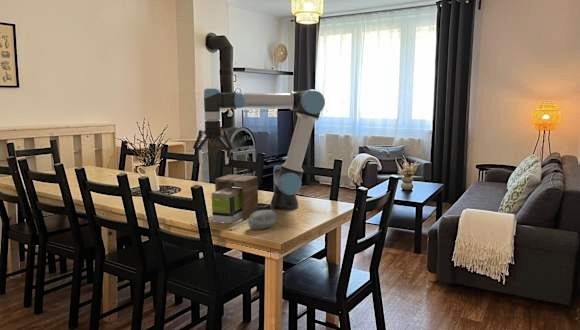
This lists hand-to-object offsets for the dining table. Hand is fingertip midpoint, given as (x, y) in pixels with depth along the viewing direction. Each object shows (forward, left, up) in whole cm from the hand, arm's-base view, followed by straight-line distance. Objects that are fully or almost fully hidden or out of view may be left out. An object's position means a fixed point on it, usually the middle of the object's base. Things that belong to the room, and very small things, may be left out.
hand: (213, 163), depth 223 cm
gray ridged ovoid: (-31, +9, -27) cm, 42 cm away
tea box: (-9, +2, -27) cm, 29 cm away
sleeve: (-9, -6, -27) cm, 29 cm away
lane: (-9, +10, -27) cm, 30 cm away
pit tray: (-9, -19, -27) cm, 34 cm away
